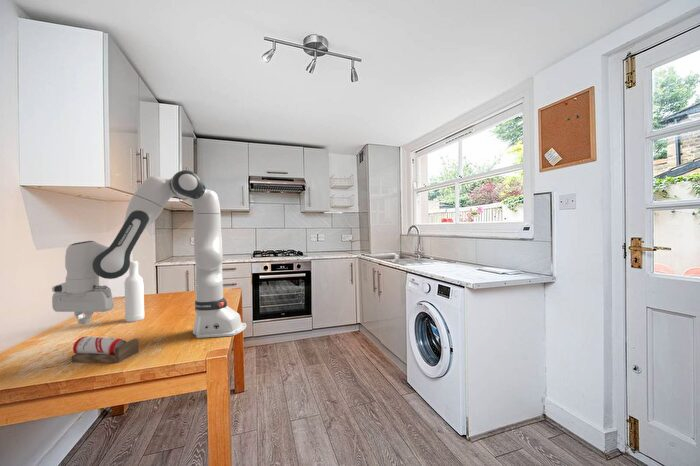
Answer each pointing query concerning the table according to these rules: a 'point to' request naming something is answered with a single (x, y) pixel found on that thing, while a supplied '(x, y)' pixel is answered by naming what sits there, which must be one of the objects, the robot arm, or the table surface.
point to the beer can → (97, 345)
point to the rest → (120, 355)
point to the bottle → (134, 294)
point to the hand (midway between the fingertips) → (84, 323)
